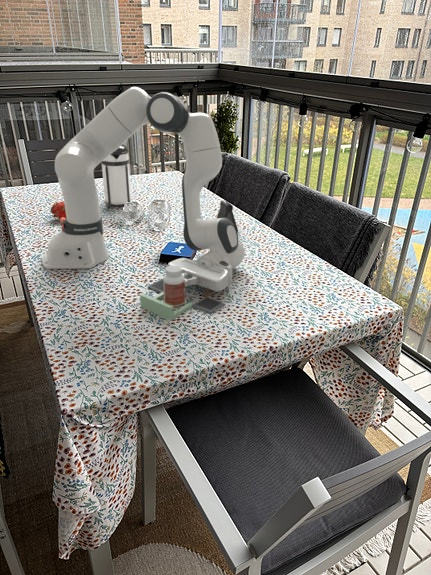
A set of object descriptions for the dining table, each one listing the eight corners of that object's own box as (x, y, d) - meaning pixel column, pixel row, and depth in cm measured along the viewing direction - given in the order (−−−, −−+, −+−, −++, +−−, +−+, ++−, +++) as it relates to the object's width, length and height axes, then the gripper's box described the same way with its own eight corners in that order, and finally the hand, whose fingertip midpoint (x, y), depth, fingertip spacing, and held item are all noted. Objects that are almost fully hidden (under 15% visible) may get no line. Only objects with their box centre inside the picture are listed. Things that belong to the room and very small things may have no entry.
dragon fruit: (49, 223, 190) (78, 224, 195) (51, 217, 182) (81, 218, 187) (48, 204, 191) (77, 205, 196) (50, 197, 183) (80, 199, 188)
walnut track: (200, 273, 149) (200, 270, 148) (228, 283, 143) (228, 280, 142) (177, 286, 140) (176, 283, 140) (205, 298, 134) (205, 295, 134)
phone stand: (218, 234, 180) (218, 205, 174) (212, 229, 185) (213, 201, 179) (238, 231, 183) (239, 203, 177) (232, 226, 188) (233, 199, 182)
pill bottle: (188, 304, 131) (188, 270, 125) (169, 309, 128) (168, 275, 123) (179, 295, 135) (178, 262, 130) (160, 300, 133) (159, 266, 127)
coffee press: (142, 202, 213) (139, 137, 199) (119, 211, 201) (113, 142, 187) (115, 196, 221) (110, 132, 207) (91, 204, 209) (84, 137, 195)
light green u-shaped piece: (164, 293, 136) (163, 282, 134) (193, 306, 130) (193, 294, 128) (140, 307, 129) (140, 295, 127) (170, 320, 123) (170, 308, 121)
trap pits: (162, 280, 144) (161, 278, 143) (224, 304, 131) (224, 302, 131) (147, 287, 139) (147, 285, 139) (210, 314, 126) (210, 312, 126)
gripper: (183, 249, 145) (154, 264, 135) (236, 267, 135) (208, 283, 125) (184, 267, 148) (155, 282, 138) (235, 285, 138) (208, 303, 128)
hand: (181, 283), depth 131 cm, fingers closed
